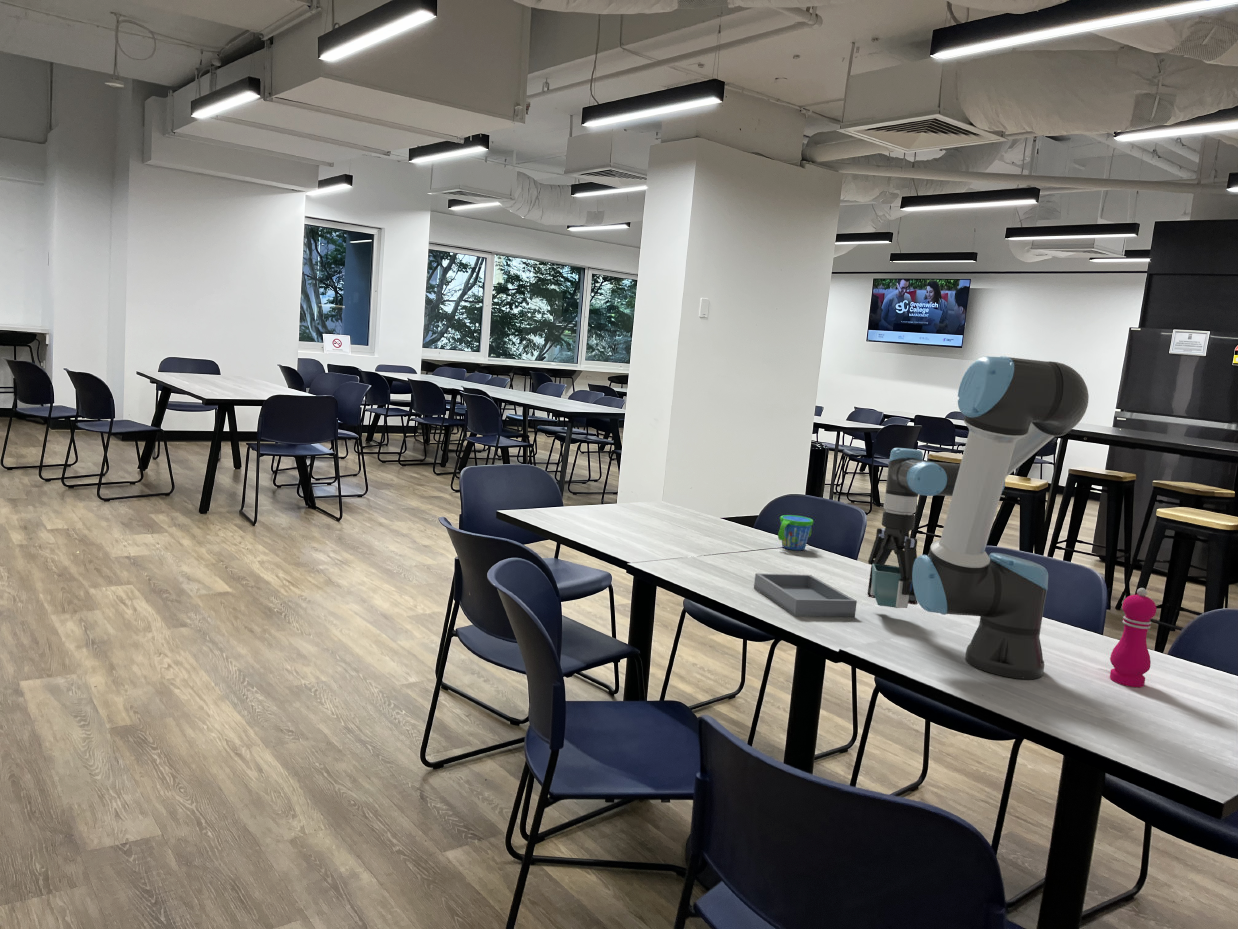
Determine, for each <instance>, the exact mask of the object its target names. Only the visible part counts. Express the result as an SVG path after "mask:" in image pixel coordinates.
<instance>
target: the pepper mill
mask: <svg viewBox="0 0 1238 929" xmlns="http://www.w3.org/2000/svg"><path fill="white" fill-rule="evenodd" d="M1147 594H1148V591H1147V590H1146V588H1144V587H1140V588H1138V589H1137V591H1136V594H1131V595H1129V596H1127V597H1126V598H1125V599H1124V600H1123V601H1122V607H1121V608H1122V611H1123V612H1124V614H1125V615H1123V616H1122V618H1123V620H1122V624H1123V625H1124V627H1123V632H1122V635H1121V638H1120V639H1119V641H1118V642H1117V644H1116V645H1115V647H1114V648H1113V649H1112V651H1111V653H1110V657H1109V660H1110V663H1111V666H1113V668H1112V669H1110V672H1109V673H1110V675H1109V679H1110V680H1111V681H1112V682H1114V683H1116V684H1119V685H1123V686H1127V687H1132V688H1143V687H1144V686H1145V684H1146V683H1145V682H1146V677H1145V676H1144V674H1146V673H1147V672H1149V671H1150V669H1151V655H1150V652H1149V649H1148V645H1147V635H1148V630H1149V629H1151V625H1152V621H1151V619H1153V618H1154V617H1155V616H1156V613H1157V605H1156V602H1155V601H1154V600H1153V599H1152V598H1150V597H1149V596H1147Z"/></svg>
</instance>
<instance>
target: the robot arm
mask: <svg viewBox="0 0 1238 929" xmlns="http://www.w3.org/2000/svg"><path fill="white" fill-rule="evenodd" d="M957 391H958V392H957V397H958V399H957V405H958V409H959V412H960V413H961V414H962V415H964V418H963V422H964V424H965V425H966V427H967V428H968V434H967V438H966V442H965V446H964V449H963V454H962V458H961V461H960V463H949V462H940V461H939V462H937V461H926V460H924V454H923V452H922V450H920V449H913V448H904V447H894V448H892V449H891V450H890V456H889V460H888V469H887V477H886V487H885V493H884V499H883V509H884V511H883V512H882V518H881V525H882V527H884V528H876V534H875V535H876V536H875V539H874V542H873V545H872V548H871V551H870V554H869V557H868V562H867V563H868V565H871V566H872V564H879V565H884V564H885V565H886V562H887V560H888V559H889V557H890V555H891V554H892V552H894V555H896V560H897V562H898V567H899V569H900V574H901V579H899V584H898V592H897V600H896V607H897V608H896V609H908V606H909V603H908V599H909V594H910V589H911V582H912V581H913V588H914V593H915V596H916V602H917V603H918V605H919V606H920V607H921V608H922V610H924V611H926V612H929V613H934V614H935V613H936V614H941V615H942V616H943V615H955V616H956V615H957V616H971V617H979V622H978V627H977V628H976V630H975V632H974V634H973V636H972V638H971V640H970V643H969V644H968V645H967V647H966V649H965V656H964V659H965V661H966V662H967V663H968V664H969V665H971V666H973V667H975V668H977V669H980V670H982V671H984V672H987V673H989V674H994V675H996V676H997V675H998V676H1001V677H1006V678H1012V679H1020V680H1035V679H1040V678H1042V677H1043V676H1044V670H1045V661H1044V659H1043V657H1044V656H1043V650H1042V644H1041V638H1040V634H1041V629H1042V623H1043V622H1042V621H1043V614H1044V611H1045V610H1044V609H1045V604H1046V597H1047V591H1048V590H1049V586H1048V585H1049V584H1048V583H1049V573H1048V570H1047V569H1046V568H1045V567H1044V566H1042V565H1041V564H1039V563H1036V562H1034V561H1032V560H1028V559H1024V558H1022V557H1017V556H1014V555H1010V554H1005V553H1001V552H990V554H988V553H987V551H986V549H987V548H986V547H987V544H988V541H989V538H990V534H991V530H992V526H993V523H994V520H995V515H996V512H997V509H998V506H999V502H1000V499H1001V495H1002V494H1003V491H1004V489H1005V485H1006V478H1007V477H1008V476H1010V475H1011V474H1012V473H1013V472H1014V471H1015V470H1016V469H1018V468H1020V466H1022V465H1023V463H1025V462H1026V461H1027V460H1028V459H1030V458H1032V456H1033V455H1034V454H1036V453H1037V452H1039V450H1040V449H1041V448H1043V447H1044V446H1045V445H1046V444H1048V442H1050V441H1051V440H1052V439H1053V438H1055V437H1061V436H1064V435H1066V434H1068V433H1069V432H1070V431H1071V430H1073V429H1074V428H1075V427H1076V426H1077V425H1078V424H1079V423H1080V422H1081V420H1082V419H1083V418H1084V416H1085V414H1086V412H1087V409H1088V407H1089V397H1090V396H1089V390H1088V386H1087V384H1086V382H1085V380H1084V378H1083V377H1082V375H1081V374H1080V373H1079V372H1078V371H1077V370H1075V369H1074V368H1073V367H1071V366H1070V365H1068V364H1065V363H1061V362H1058V361H1046V360H1036V359H1029V358H1028V359H1027V358H1020V357H1009V356H1005V355H1003V356H1002V355H1000V356H989V355H988V356H983V357H980V358H978V359H976V360H975V361H974V362H973V363H971V364H970V366H969V367H968V368H967V370H966V371H965V372H964V374H963V376H962V378H961V381H960V384H959V387H958V390H957ZM919 496H926V497H933V496H943V497H951V499H950V502H949V505H948V506H949V507H948V510H947V514H946V518H945V522H944V525H943V528H942V532H941V535H940V536H941V537H940V538H939V539H937V540H935V541H933V542H932V543H931V545H930V547H929V551H928V553H927V554H922V555H917V553H918V552H917V546H918V539H917V538H911V537H910V531H913V530H914V529H915V523H916V516H915V514H914V513H916V511H917V503H918V497H919ZM870 595H874V592H873V588H872V585H871V593H870Z"/></svg>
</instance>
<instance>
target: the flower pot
mask: <svg viewBox="0 0 1238 929" xmlns="http://www.w3.org/2000/svg"><path fill="white" fill-rule="evenodd" d="M886 565H887V564H885V565H879V564H872V565H871V566H872V588H873V592H874V596H875V597H874V598H875V601H876V603H877V604H876V605H878V606H880V607H888V608H893V609H898V608H897V607H896V600H897V592H898V584H899V579H901V574H900V569H899V566H897V567H893V566H894V565H891V566H886Z"/></svg>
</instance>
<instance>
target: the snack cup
mask: <svg viewBox="0 0 1238 929" xmlns="http://www.w3.org/2000/svg"><path fill="white" fill-rule="evenodd" d="M779 521H780V525H779V526H780V527H779V530H778V534H777V538H778V540H780V541H781V547H783V548H784V549H786V550H790V549H791V550H792V551H803V550H805V549H806V546H807V543H808V540H809V538H810V537H811V535H812V526H813V525H814V520H813V519H812V518H810V517H806V516H802V515H795V514H794V515H793V514H786V515H781V516H780V517H779ZM791 550H790V551H791Z"/></svg>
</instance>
